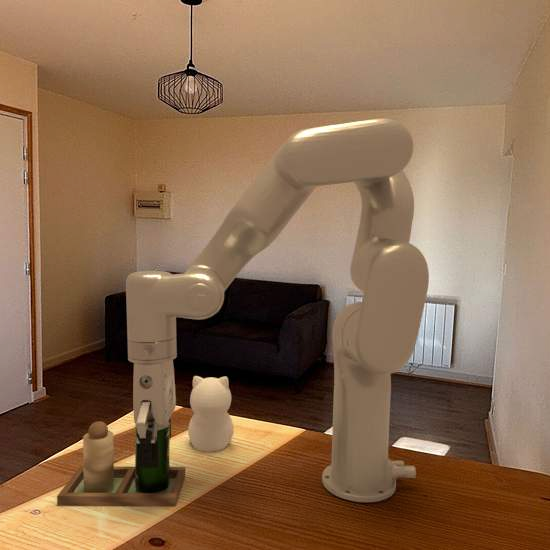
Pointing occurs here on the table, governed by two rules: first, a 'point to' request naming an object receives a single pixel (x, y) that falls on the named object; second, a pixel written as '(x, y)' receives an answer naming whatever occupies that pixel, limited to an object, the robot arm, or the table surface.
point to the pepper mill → (98, 459)
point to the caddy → (121, 490)
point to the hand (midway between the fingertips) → (155, 452)
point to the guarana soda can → (159, 476)
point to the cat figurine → (210, 414)
